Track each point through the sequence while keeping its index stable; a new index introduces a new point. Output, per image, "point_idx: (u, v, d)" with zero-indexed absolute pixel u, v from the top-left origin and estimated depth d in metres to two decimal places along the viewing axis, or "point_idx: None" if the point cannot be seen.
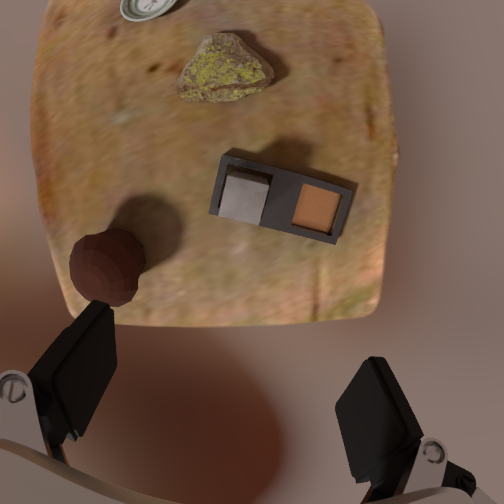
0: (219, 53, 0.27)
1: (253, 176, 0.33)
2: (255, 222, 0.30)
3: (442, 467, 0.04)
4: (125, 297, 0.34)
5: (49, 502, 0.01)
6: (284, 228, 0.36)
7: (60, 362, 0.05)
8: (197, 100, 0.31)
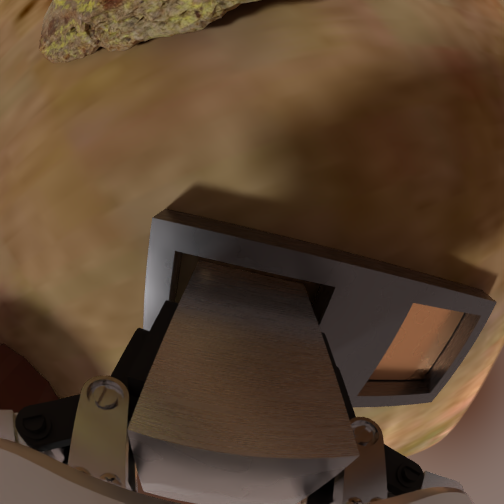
0: None
1: (268, 306, 0.09)
2: None
3: (380, 445, 0.05)
4: None
5: (49, 502, 0.01)
6: None
7: None
8: (79, 52, 0.07)
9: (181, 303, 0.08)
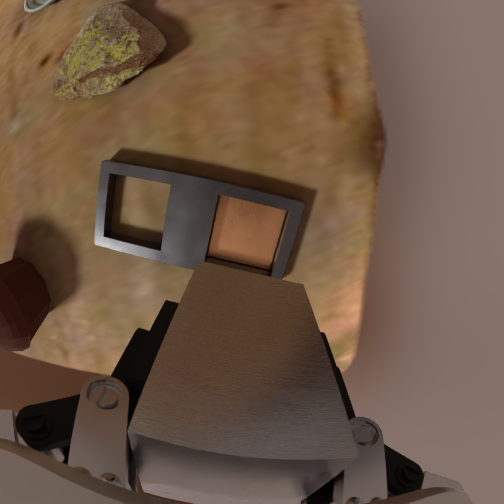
0: (96, 31, 0.15)
1: (267, 307, 0.09)
2: None
3: (380, 445, 0.05)
4: (19, 344, 0.20)
5: (49, 502, 0.01)
6: (195, 265, 0.24)
7: None
8: (72, 97, 0.19)
9: (181, 304, 0.08)
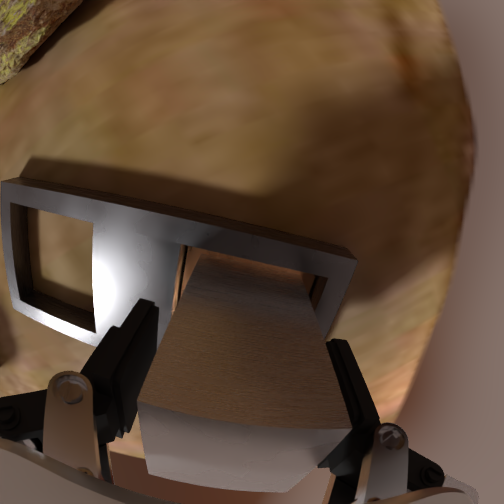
0: None
1: (266, 294, 0.10)
2: (276, 490, 0.06)
3: (404, 451, 0.05)
4: None
5: (49, 502, 0.01)
6: None
7: (119, 360, 0.06)
8: None
9: (185, 291, 0.09)
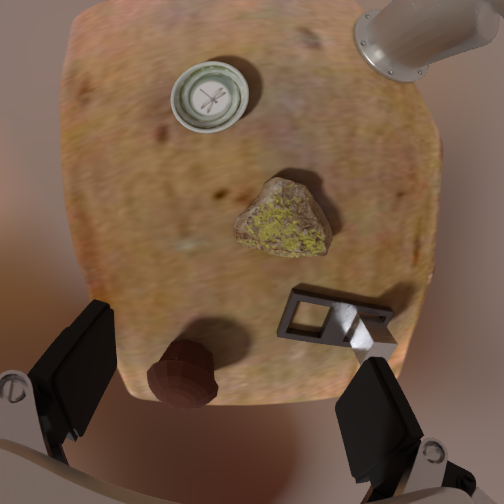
0: (287, 209, 0.33)
1: (375, 322, 0.39)
2: None
3: (442, 467, 0.04)
4: (206, 403, 0.38)
5: (49, 502, 0.01)
6: (337, 343, 0.42)
7: (60, 362, 0.05)
8: (254, 248, 0.37)
9: (363, 323, 0.38)
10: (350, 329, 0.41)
